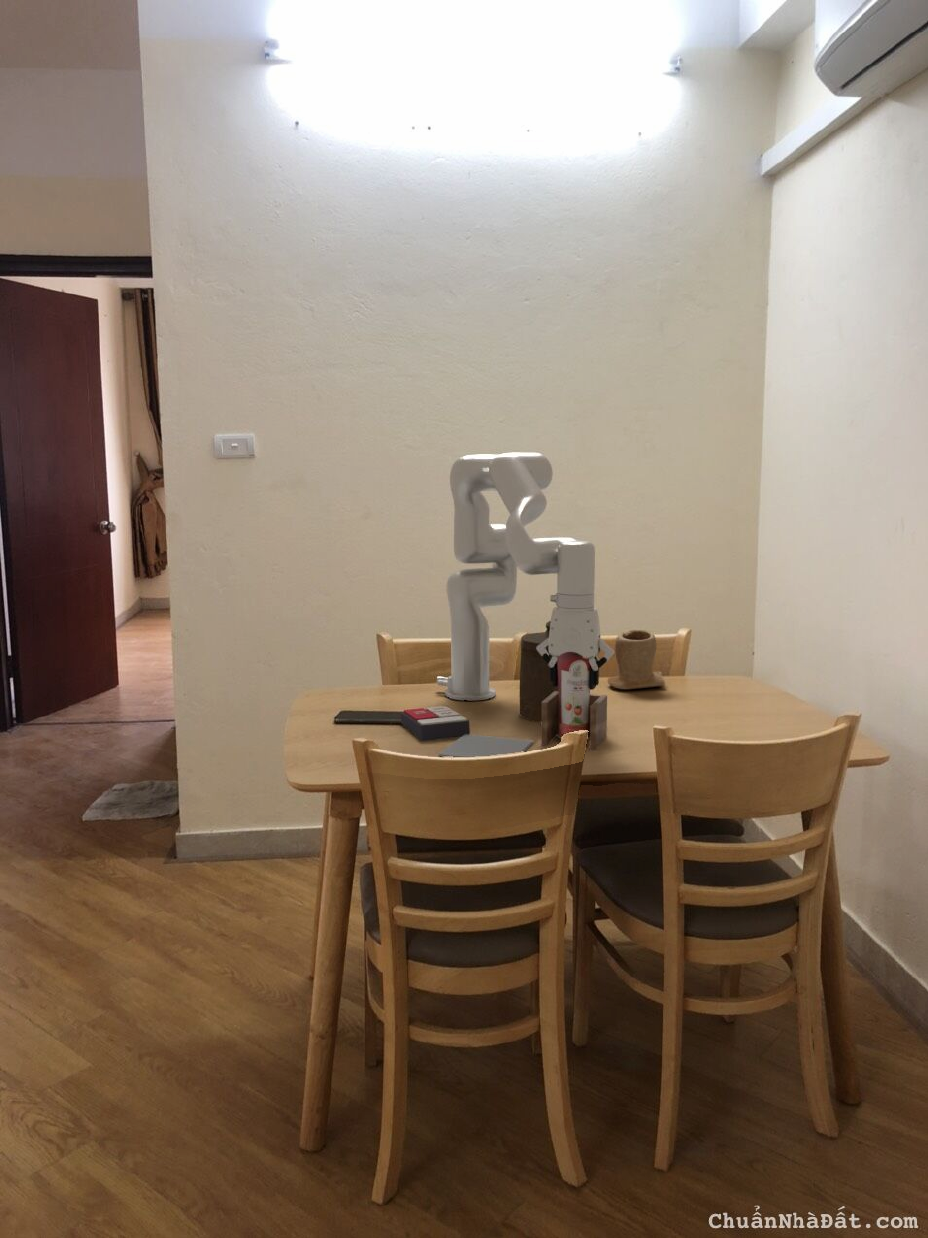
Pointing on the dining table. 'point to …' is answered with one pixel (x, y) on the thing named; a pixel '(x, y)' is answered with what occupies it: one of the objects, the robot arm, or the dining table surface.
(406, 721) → the navy red white box
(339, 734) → the dining table surface
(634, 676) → the stone cup
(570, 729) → the liquor
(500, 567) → the robot arm
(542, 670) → the wooden container
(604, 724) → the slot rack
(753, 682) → the dining table surface
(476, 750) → the slate mat
